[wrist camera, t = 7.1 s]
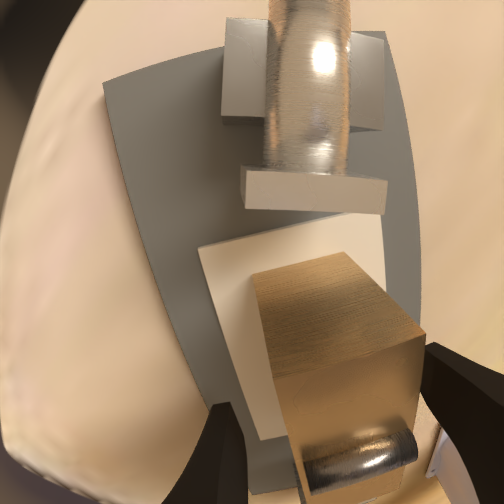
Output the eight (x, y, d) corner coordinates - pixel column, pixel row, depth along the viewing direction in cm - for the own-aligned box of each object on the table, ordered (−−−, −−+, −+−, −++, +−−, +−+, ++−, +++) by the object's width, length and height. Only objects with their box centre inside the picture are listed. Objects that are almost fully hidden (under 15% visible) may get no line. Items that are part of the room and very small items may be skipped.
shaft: (340, 188, 12) (405, 216, 7) (220, 183, 11) (216, 208, 7) (346, 37, 10) (407, -10, 5) (227, 24, 9) (229, -43, 5)
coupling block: (343, 251, 12) (446, 354, 6) (356, 396, 15) (406, 504, 8) (251, 274, 12) (278, 410, 6) (287, 416, 15) (314, 534, 8)
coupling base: (399, 446, 18) (404, 456, 17) (251, 486, 18) (252, 498, 17) (376, 36, 10) (388, 29, 9) (109, 86, 10) (99, 81, 9)
